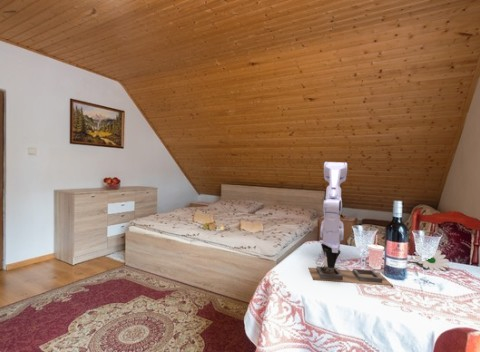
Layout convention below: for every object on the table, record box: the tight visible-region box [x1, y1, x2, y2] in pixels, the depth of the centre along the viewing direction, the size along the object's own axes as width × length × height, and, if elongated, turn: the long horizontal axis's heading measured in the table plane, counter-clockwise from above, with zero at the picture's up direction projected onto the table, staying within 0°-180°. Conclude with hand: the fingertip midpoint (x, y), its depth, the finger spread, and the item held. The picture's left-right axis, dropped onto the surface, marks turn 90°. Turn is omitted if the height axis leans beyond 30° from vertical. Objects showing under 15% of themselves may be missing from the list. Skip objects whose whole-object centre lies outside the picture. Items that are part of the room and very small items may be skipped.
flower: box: [382, 249, 450, 272], centre depth 123 cm, size 13×6×30 cm
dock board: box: [308, 266, 394, 288], centre depth 105 cm, size 12×28×2 cm, turn 85°
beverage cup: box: [367, 234, 385, 270], centre depth 116 cm, size 6×6×14 cm
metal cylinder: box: [323, 253, 336, 274], centre depth 105 cm, size 4×4×8 cm
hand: (329, 265), depth 105 cm, fingers closed on metal cylinder, 4 cm apart
